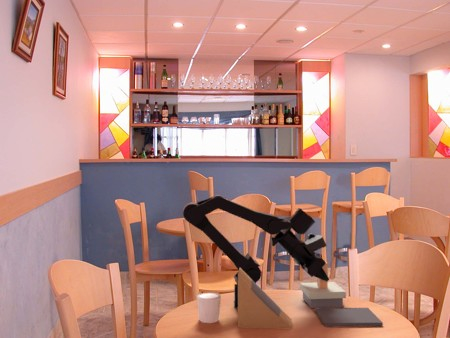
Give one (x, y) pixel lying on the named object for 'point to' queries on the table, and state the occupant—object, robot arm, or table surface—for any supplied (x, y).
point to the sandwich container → (258, 307)
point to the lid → (322, 288)
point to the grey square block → (323, 302)
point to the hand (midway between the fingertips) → (326, 278)
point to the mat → (347, 317)
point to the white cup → (208, 307)
